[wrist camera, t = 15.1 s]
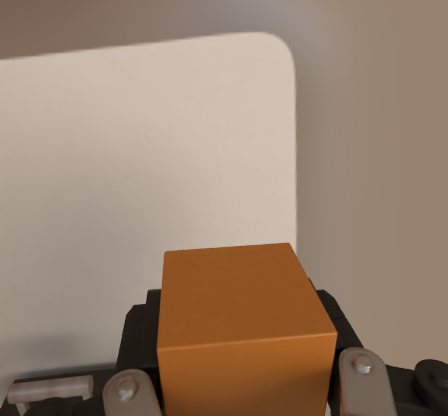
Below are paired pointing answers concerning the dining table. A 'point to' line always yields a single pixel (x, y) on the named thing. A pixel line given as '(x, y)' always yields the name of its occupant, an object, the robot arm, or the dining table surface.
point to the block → (242, 334)
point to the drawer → (54, 389)
